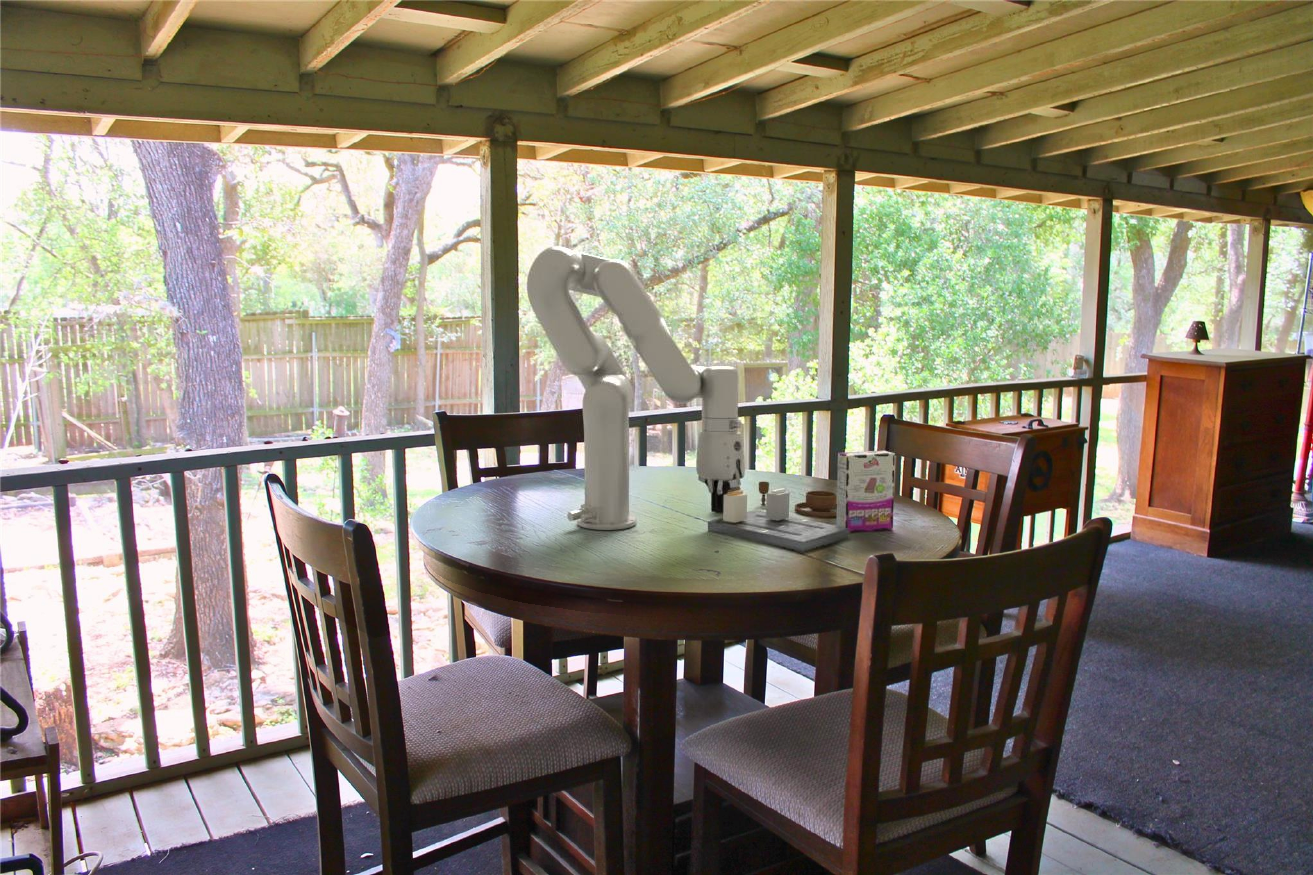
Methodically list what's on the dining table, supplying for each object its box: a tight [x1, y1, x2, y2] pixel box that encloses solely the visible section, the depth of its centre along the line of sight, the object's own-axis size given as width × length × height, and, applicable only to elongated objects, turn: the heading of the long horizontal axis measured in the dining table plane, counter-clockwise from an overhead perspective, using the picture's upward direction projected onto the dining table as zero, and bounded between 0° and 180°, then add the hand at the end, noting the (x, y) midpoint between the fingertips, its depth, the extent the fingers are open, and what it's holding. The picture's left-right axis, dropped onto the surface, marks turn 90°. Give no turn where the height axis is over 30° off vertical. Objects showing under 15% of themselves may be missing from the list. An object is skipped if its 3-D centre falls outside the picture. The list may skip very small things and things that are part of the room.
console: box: [707, 509, 850, 553], centre depth 187 cm, size 16×24×2 cm, turn 46°
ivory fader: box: [722, 489, 748, 523], centre depth 189 cm, size 4×3×6 cm
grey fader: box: [765, 487, 791, 521], centre depth 191 cm, size 4×3×6 cm
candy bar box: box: [836, 450, 896, 534], centre depth 191 cm, size 11×5×16 cm, turn 105°
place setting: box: [758, 481, 837, 518], centre depth 212 cm, size 18×20×6 cm
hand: (718, 511), depth 192 cm, fingers closed
